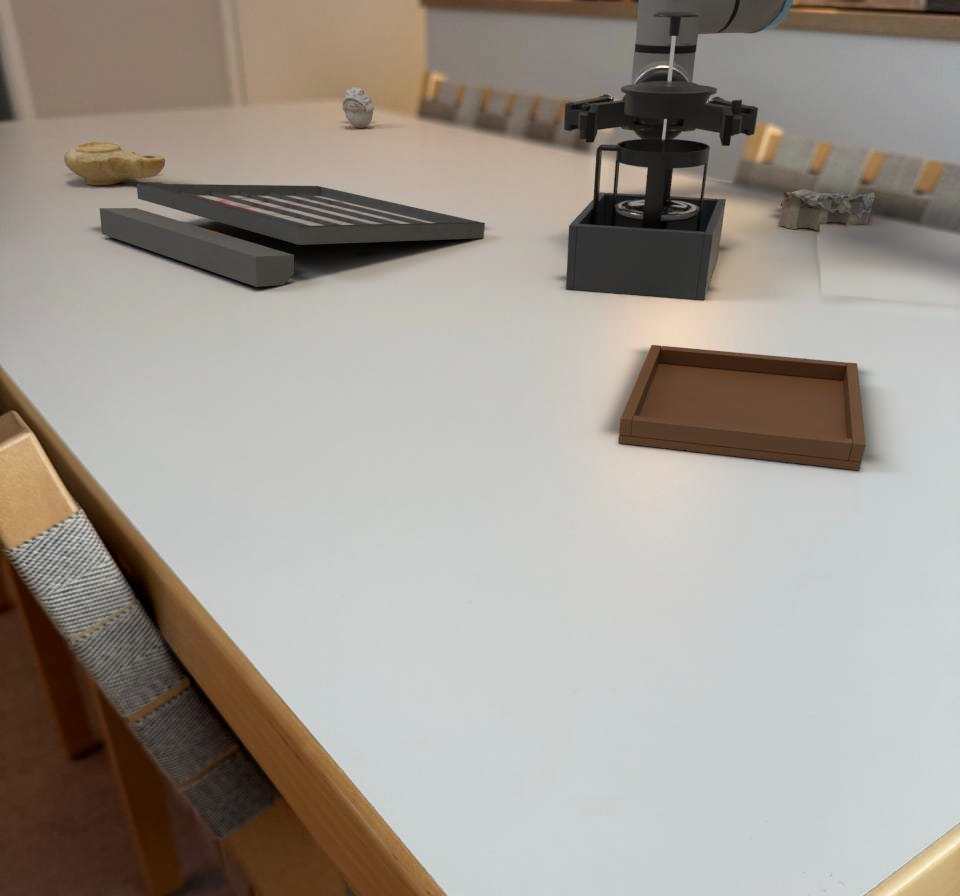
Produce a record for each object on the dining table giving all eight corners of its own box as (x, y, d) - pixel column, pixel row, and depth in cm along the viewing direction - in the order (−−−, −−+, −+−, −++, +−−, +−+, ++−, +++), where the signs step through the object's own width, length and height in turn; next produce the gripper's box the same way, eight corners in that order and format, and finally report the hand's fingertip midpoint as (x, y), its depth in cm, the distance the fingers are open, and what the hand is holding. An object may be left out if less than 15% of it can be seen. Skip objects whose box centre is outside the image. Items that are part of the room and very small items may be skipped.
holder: (717, 258, 105) (726, 199, 102) (704, 300, 92) (712, 234, 89) (595, 249, 108) (599, 192, 105) (565, 289, 95) (568, 225, 92)
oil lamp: (169, 187, 137) (162, 149, 134) (63, 192, 135) (54, 152, 132) (170, 174, 146) (164, 137, 143) (71, 178, 143) (63, 141, 140)
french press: (705, 265, 103) (739, 8, 89) (699, 288, 95) (734, 12, 82) (596, 258, 105) (613, 7, 92) (582, 280, 98) (598, 11, 84)
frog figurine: (337, 130, 184) (334, 88, 180) (353, 125, 189) (350, 84, 185) (366, 131, 182) (364, 89, 178) (381, 126, 188) (379, 85, 184)
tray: (852, 385, 74) (857, 362, 73) (859, 470, 61) (866, 444, 60) (649, 366, 77) (651, 344, 76) (618, 443, 65) (620, 418, 64)
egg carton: (773, 228, 117) (778, 191, 115) (784, 216, 123) (790, 181, 120) (864, 236, 113) (872, 198, 111) (871, 223, 119) (879, 187, 116)
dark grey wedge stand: (318, 241, 133) (103, 248, 113) (317, 185, 130) (95, 182, 110) (482, 272, 114) (259, 287, 94) (485, 208, 111) (255, 209, 91)
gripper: (762, 141, 113) (779, 173, 96) (553, 136, 117) (533, 166, 100) (774, 68, 109) (793, 88, 92) (556, 65, 112) (536, 83, 95)
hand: (658, 129), depth 96 cm, fingers open, 13 cm apart
